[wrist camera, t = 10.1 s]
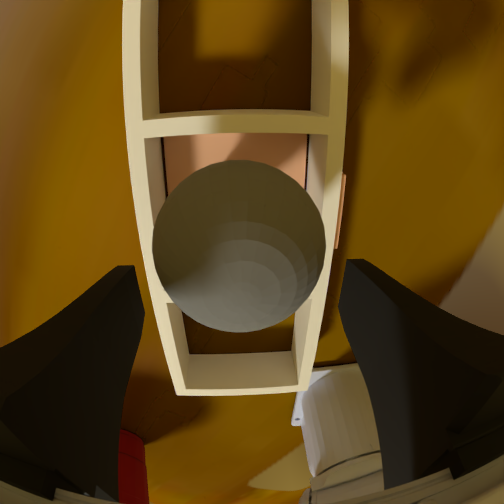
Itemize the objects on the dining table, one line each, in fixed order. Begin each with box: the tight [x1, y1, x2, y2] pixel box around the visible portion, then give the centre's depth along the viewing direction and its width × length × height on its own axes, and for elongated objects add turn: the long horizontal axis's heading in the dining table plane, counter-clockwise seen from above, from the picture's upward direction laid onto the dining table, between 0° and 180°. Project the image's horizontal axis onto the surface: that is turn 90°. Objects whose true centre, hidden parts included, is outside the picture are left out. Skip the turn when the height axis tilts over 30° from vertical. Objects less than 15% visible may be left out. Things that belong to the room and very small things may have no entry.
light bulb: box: [152, 160, 326, 332], centre depth 13 cm, size 6×6×10 cm
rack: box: [122, 0, 349, 396], centre depth 16 cm, size 27×10×4 cm, turn 0°
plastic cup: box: [118, 429, 149, 504], centre depth 26 cm, size 11×11×12 cm
